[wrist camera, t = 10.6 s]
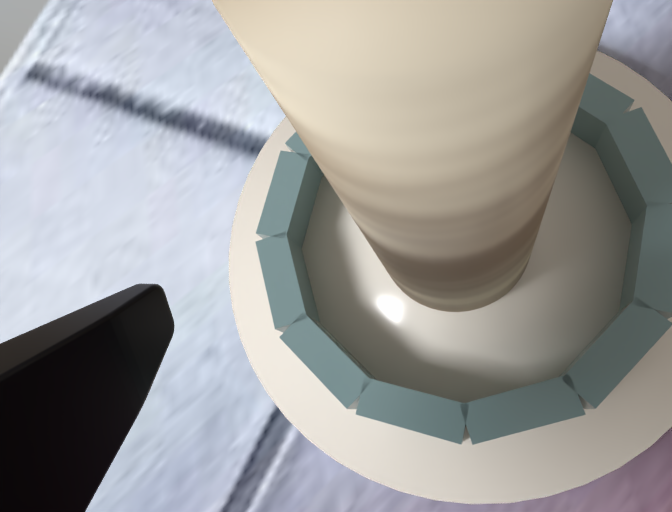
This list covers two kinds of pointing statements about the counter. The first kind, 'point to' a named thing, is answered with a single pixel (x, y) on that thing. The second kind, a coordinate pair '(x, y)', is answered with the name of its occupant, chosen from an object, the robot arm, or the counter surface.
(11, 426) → the robot arm
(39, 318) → the counter surface
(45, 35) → the counter surface
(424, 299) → the birch cylinder
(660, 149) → the ring dish
